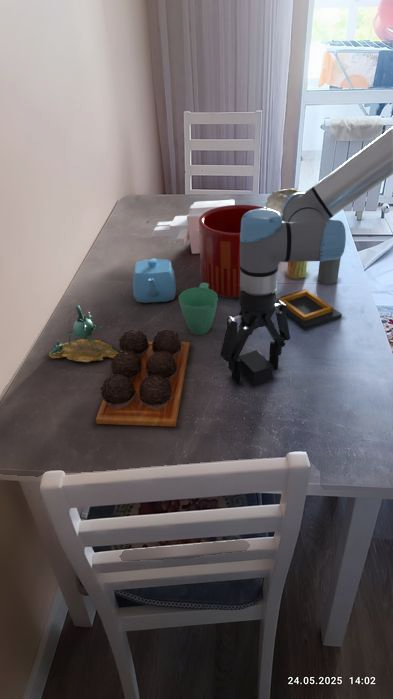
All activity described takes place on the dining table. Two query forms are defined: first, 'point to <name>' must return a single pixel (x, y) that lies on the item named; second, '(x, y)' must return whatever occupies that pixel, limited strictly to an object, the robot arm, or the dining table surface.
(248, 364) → the black rectangular block
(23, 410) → the dining table surface
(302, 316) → the base
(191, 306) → the mug
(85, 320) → the cartoon bug character
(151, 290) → the teapot
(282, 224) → the robot arm
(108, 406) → the chocolate muffin tray
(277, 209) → the decorative shell
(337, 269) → the bottle
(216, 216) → the planter
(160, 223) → the white stepped block
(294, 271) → the vase
